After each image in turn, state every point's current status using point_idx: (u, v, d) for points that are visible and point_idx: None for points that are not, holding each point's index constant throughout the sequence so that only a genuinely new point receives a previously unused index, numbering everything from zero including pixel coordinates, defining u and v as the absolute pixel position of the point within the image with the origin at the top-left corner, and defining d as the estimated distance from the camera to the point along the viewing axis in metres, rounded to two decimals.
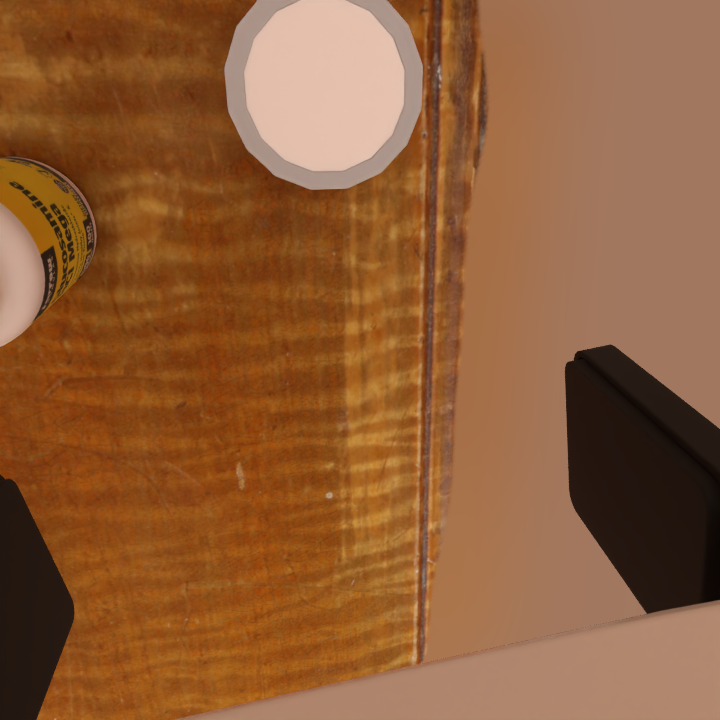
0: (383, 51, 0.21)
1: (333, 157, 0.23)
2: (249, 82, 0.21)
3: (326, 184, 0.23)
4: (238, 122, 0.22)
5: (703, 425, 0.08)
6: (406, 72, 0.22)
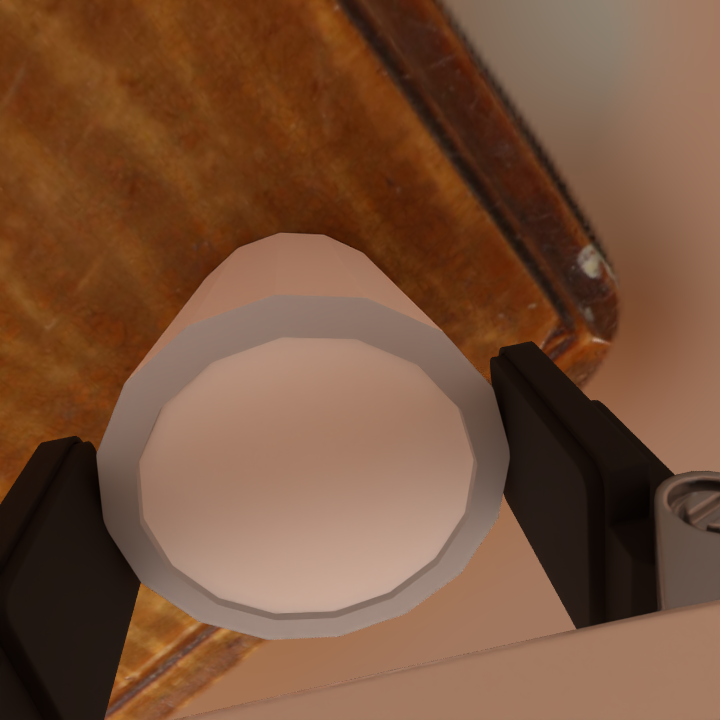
0: (435, 516, 0.11)
1: (222, 572, 0.11)
2: (206, 381, 0.10)
3: (173, 595, 0.11)
4: (124, 412, 0.10)
5: (595, 415, 0.08)
6: (434, 565, 0.11)
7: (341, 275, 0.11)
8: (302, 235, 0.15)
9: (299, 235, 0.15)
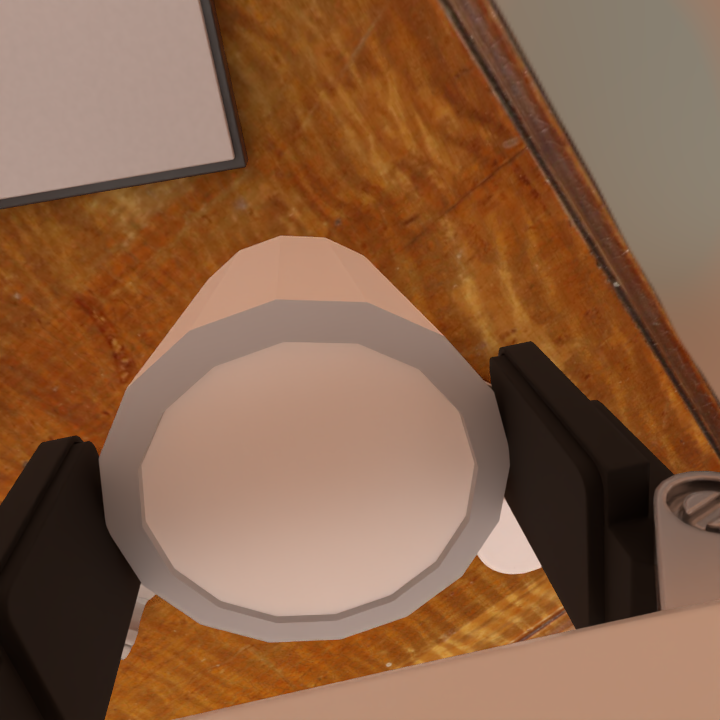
0: (436, 519, 0.11)
1: (224, 575, 0.11)
2: (208, 385, 0.10)
3: (175, 597, 0.11)
4: (126, 416, 0.10)
5: (594, 415, 0.08)
6: (435, 567, 0.12)
7: (342, 279, 0.11)
8: (303, 238, 0.15)
9: (300, 238, 0.15)
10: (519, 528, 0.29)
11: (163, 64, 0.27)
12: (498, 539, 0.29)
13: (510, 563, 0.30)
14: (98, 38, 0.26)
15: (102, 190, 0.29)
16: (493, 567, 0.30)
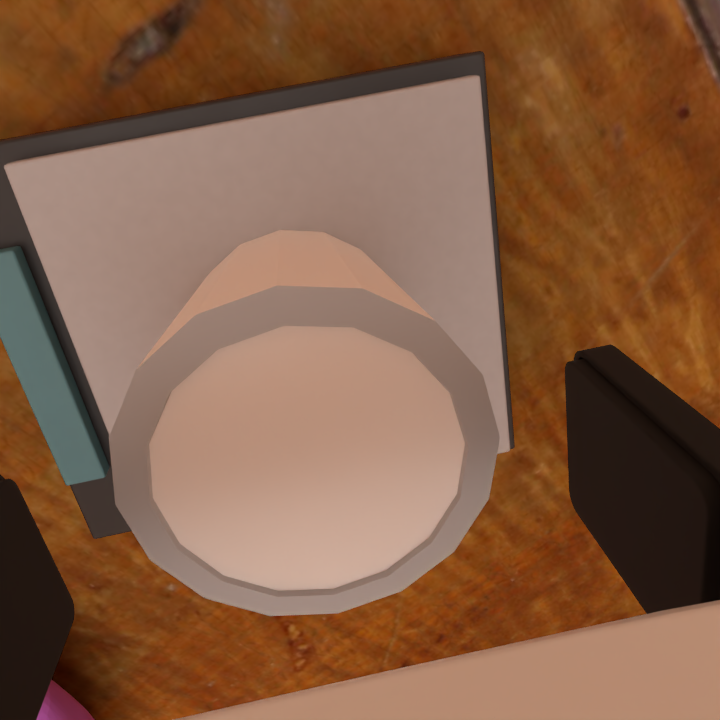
0: (429, 497, 0.12)
1: (227, 550, 0.12)
2: (213, 367, 0.10)
3: (180, 572, 0.12)
4: (135, 396, 0.10)
5: (703, 425, 0.08)
6: (428, 543, 0.12)
7: (339, 268, 0.11)
8: (302, 232, 0.16)
9: (299, 232, 0.16)
10: None
11: None
12: None
13: None
14: None
15: None
16: None
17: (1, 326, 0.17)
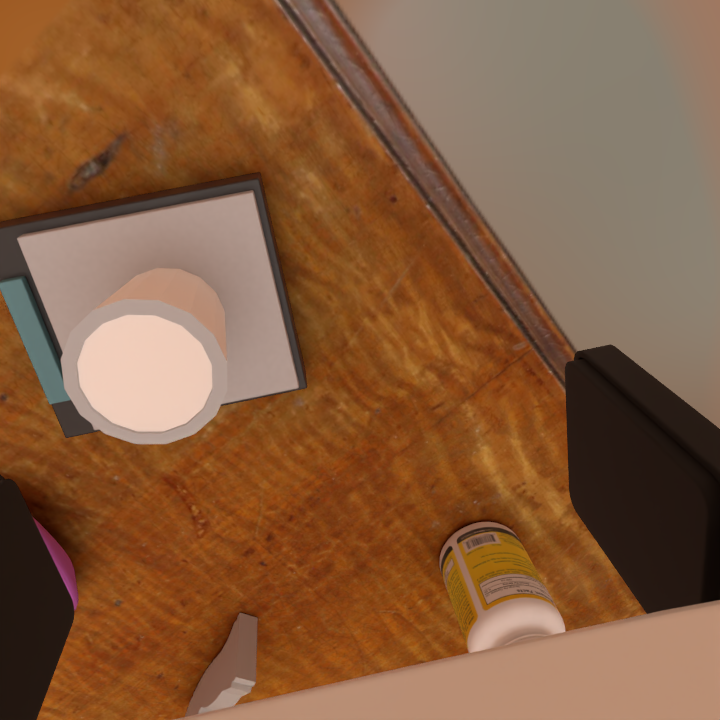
0: (200, 389, 0.27)
1: (113, 411, 0.27)
2: (100, 331, 0.26)
3: (93, 420, 0.27)
4: (70, 342, 0.26)
5: (703, 425, 0.08)
6: (202, 410, 0.28)
7: (160, 291, 0.27)
8: (167, 269, 0.32)
9: (165, 269, 0.32)
10: None
11: (245, 327, 0.34)
12: None
13: None
14: None
15: None
16: None
17: (15, 317, 0.32)
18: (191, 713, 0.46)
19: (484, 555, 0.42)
